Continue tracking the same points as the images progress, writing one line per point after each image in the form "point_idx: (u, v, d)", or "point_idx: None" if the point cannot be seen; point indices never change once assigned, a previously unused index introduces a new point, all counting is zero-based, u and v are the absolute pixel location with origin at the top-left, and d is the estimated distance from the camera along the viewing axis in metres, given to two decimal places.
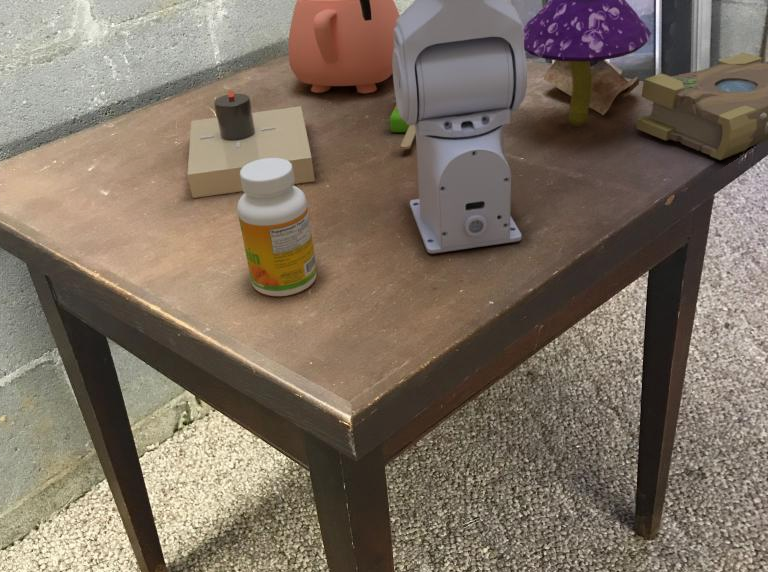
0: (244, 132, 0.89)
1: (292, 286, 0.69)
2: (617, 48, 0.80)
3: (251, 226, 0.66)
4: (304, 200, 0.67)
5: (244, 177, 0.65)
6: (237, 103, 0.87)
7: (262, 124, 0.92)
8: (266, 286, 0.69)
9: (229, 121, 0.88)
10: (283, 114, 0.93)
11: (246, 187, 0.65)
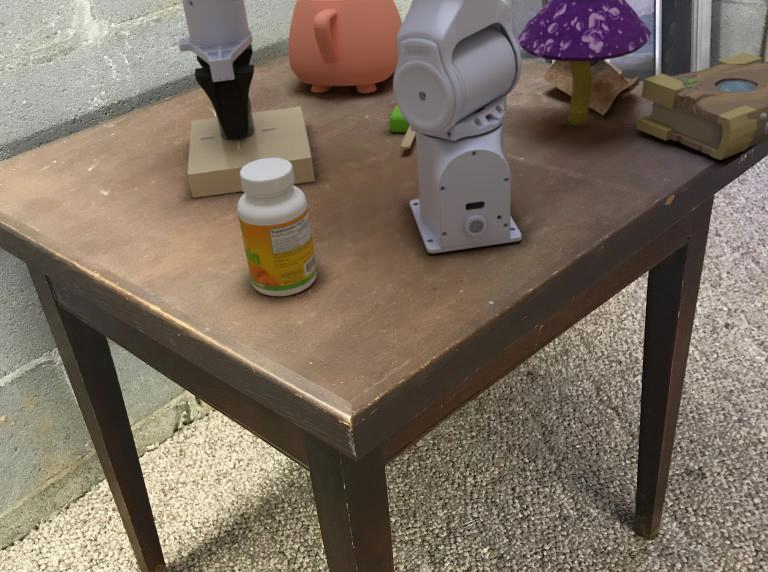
0: None
1: (292, 286, 0.69)
2: (617, 48, 0.80)
3: (251, 226, 0.66)
4: (304, 200, 0.67)
5: (244, 177, 0.65)
6: None
7: (262, 124, 0.92)
8: (266, 286, 0.69)
9: None
10: (283, 114, 0.93)
11: (246, 187, 0.65)
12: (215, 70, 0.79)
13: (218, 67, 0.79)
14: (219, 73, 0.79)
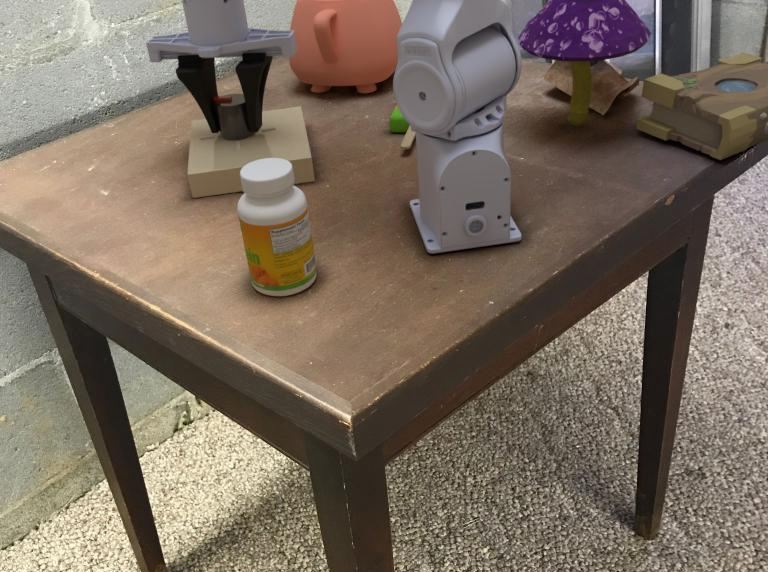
0: None
1: (292, 286, 0.69)
2: (617, 48, 0.80)
3: (251, 226, 0.66)
4: (304, 200, 0.67)
5: (244, 177, 0.65)
6: None
7: (262, 124, 0.92)
8: (266, 286, 0.69)
9: None
10: (283, 114, 0.93)
11: (246, 187, 0.65)
12: (292, 45, 0.83)
13: (292, 41, 0.83)
14: (293, 47, 0.84)
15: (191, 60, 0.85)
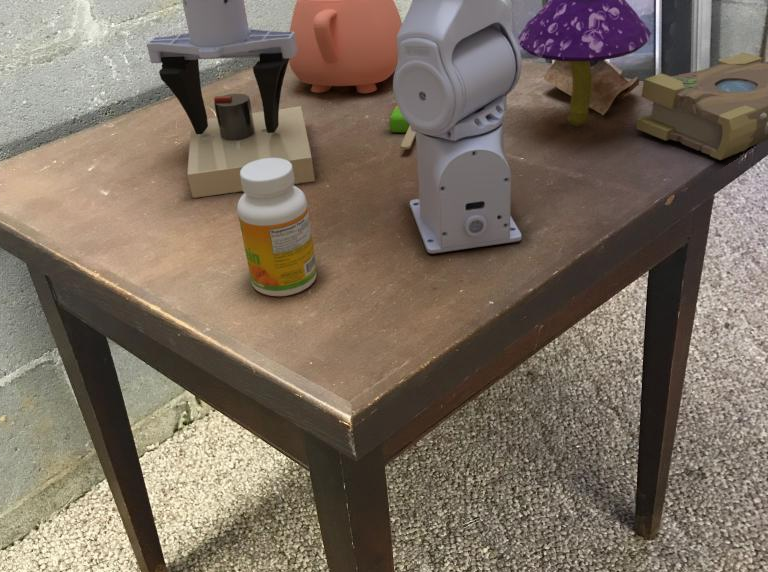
0: None
1: (292, 286, 0.69)
2: (617, 48, 0.80)
3: (251, 226, 0.66)
4: (304, 200, 0.67)
5: (244, 177, 0.65)
6: (244, 97, 0.88)
7: (262, 124, 0.92)
8: (266, 286, 0.69)
9: (249, 116, 0.88)
10: (283, 114, 0.93)
11: (246, 187, 0.65)
12: (292, 46, 0.83)
13: (293, 42, 0.83)
14: (293, 48, 0.84)
15: (175, 62, 0.86)
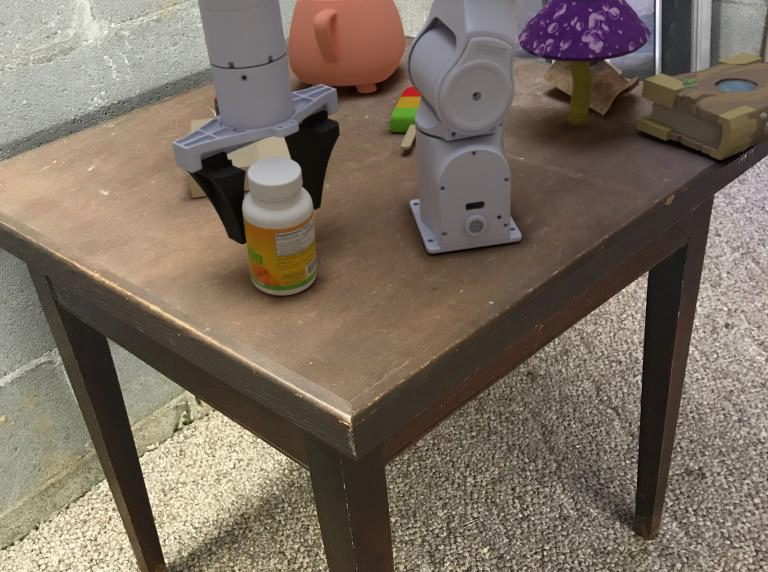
0: None
1: (293, 287, 0.69)
2: (617, 48, 0.80)
3: (257, 228, 0.65)
4: (310, 203, 0.66)
5: (252, 179, 0.64)
6: None
7: None
8: (267, 285, 0.69)
9: None
10: None
11: (253, 189, 0.64)
12: None
13: None
14: None
15: (218, 161, 0.66)
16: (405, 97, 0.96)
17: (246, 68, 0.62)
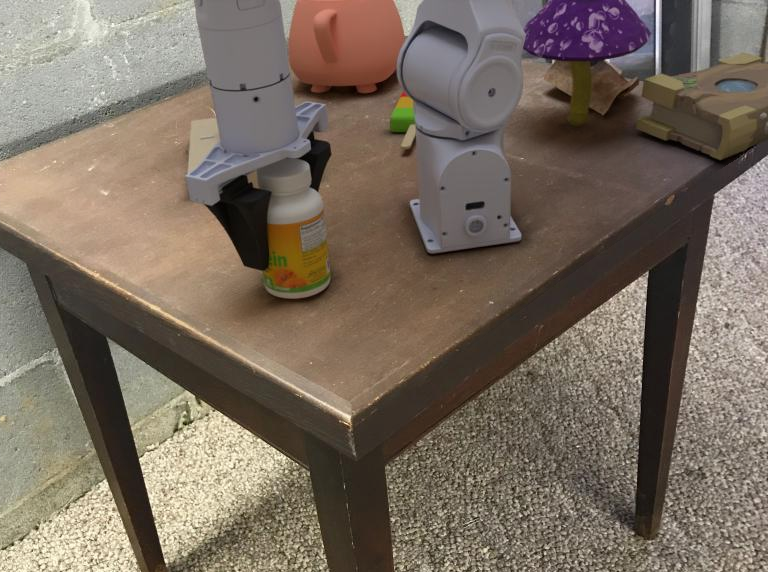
0: None
1: (318, 284, 0.68)
2: (617, 48, 0.80)
3: (280, 226, 0.65)
4: None
5: (268, 177, 0.64)
6: None
7: None
8: (293, 288, 0.68)
9: None
10: None
11: (270, 187, 0.64)
12: None
13: None
14: None
15: (240, 185, 0.62)
16: (405, 97, 0.96)
17: (259, 89, 0.59)
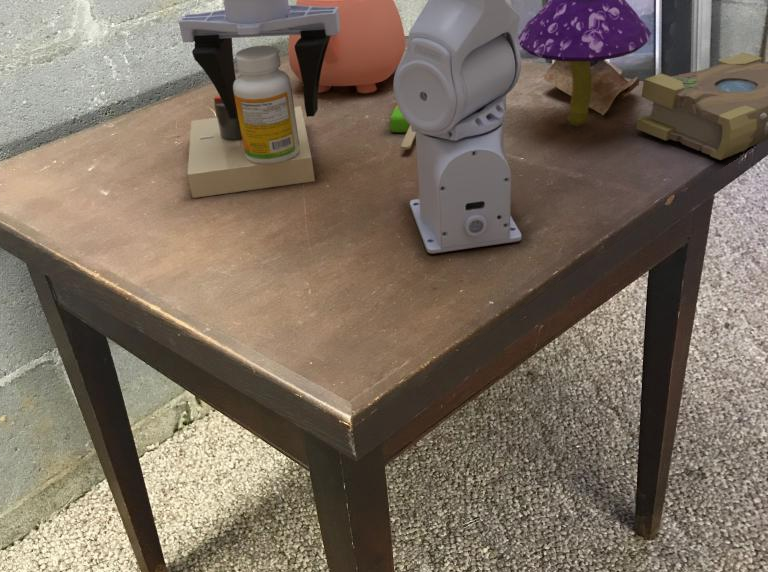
0: None
1: (258, 156, 0.83)
2: (617, 48, 0.80)
3: (234, 95, 0.81)
4: (277, 87, 0.79)
5: (236, 53, 0.80)
6: None
7: None
8: (245, 150, 0.84)
9: None
10: None
11: (236, 62, 0.80)
12: (336, 22, 0.78)
13: (336, 18, 0.78)
14: (337, 24, 0.78)
15: (208, 40, 0.80)
16: None
17: None
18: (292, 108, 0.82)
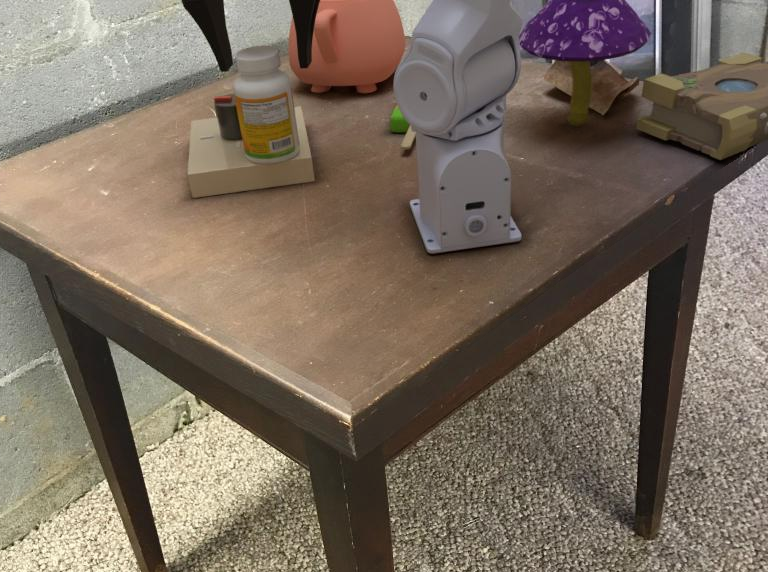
0: None
1: (258, 156, 0.83)
2: (617, 48, 0.80)
3: (234, 95, 0.81)
4: (277, 87, 0.79)
5: (236, 53, 0.80)
6: None
7: None
8: (245, 150, 0.84)
9: None
10: None
11: (236, 62, 0.80)
12: None
13: None
14: None
15: None
16: None
17: None
18: (292, 108, 0.82)
